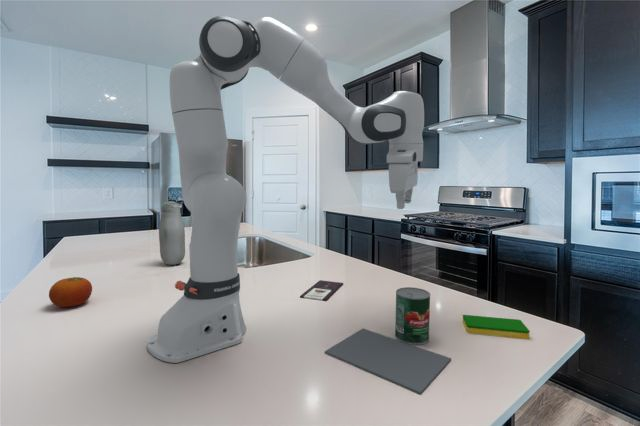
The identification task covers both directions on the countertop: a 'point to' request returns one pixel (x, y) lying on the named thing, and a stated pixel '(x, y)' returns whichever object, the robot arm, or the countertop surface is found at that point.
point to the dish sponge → (495, 326)
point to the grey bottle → (171, 234)
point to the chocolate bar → (322, 290)
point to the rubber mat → (390, 359)
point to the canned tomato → (412, 315)
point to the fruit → (70, 292)
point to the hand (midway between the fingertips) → (404, 205)
